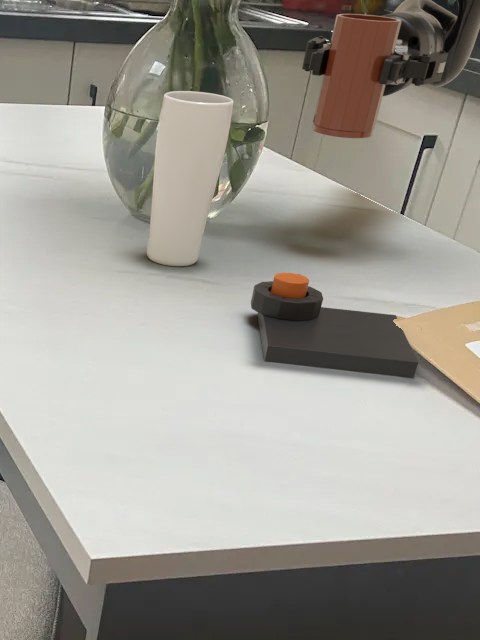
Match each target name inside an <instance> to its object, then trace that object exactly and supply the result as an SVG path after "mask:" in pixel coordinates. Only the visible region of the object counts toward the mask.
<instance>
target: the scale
mask: <svg viewBox="0 0 480 640" xmlns="http://www.w3.org/2000/svg"><path fill="white" fill-rule="evenodd" d="M272 284H273V280H271V281H261V282H258V283H256V284H255V285H254V286H253V291H252V295H251V299H250V308H251V310H253V311H254V312H257V314H256V315H257V322H258V329H259V334H260V335H259V336H260V341H261V348H262V354H263V360H264V362H267V363H278V364H285V365H286V364H287V365H295V366H302V367H312V368H320V369H330V370H337V371H338V370H339V371H348V372H355V373H366V374H374V375H381V376H391V377H392V376H393V377H400V378H401V377H402V378H408V379H414V378H415V375H416V372H417V369H418V365H419V361H418V358H417V356H416V355H415V352H414V351H413V348H412V346H411V344H410V342H409V340H408V338H407V335H406V333H405V331H404V330H402V329H403V328H402V329H401V328H399V327H398V326H396V324H395V323H394V322H393V320H394V319H398V317H397V315H396V314H388V313H381V312H380V313H379V312H372V311H371V312H370V311H360V310H352V309H343V308H334V307H323V306H322V305H323V301H324V296H323V293H322V292H321V291H319V290H318V289H316V288H314V287H313V286H309V285H308V288H307V292H306V296H305V298H287V297H283V296H279V295H275V294H273V293H271V289H272Z"/></svg>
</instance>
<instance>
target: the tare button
mask: <svg viewBox="0 0 480 640" xmlns="http://www.w3.org/2000/svg"><path fill="white" fill-rule="evenodd" d="M272 281H273V284H272V289H271V293H273V294H275V295H279V296H283V297H287V298H305V296H306V292H307V288H308V286H309V285H310V284H309V283H310V279H309V278H308V277H307V276H305V275H302V274H298V273H294V272H293V273H292V272H278V273H275V274H274V276H273V280H272Z"/></svg>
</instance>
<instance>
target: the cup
mask: <svg viewBox="0 0 480 640" xmlns="http://www.w3.org/2000/svg"><path fill="white" fill-rule="evenodd" d="M401 22H402V21H401V20H400V19H395V18H390V17H383V16H382V15H374V14H361V13H340V14H336V16H335V21H334V25H333V30H332V35H331V39H330V42H329V43H330V47H329V52H328V57H327V61H326V66H325V70H324V75H322V79H321V83H320V89H319V93H318V98H317V100H316V101H317V102H316V106H315V111H314V114H313V120H312V126H311V130H312V131H313V132H314V133H317V134H320V135H324V136H329V137H335V138H343V139H367V138H371V137H372V136H373V134H374V130H375V128H376V125H377V121H378V116H379V112H380V109H381V105H382V101H383V97H384V96H383V93H384V89H385V85H384V84H379V82H380V77H381V73H382V69H383V65H384V62H385V59H386V58H387V57H390V56H393V54H394V50H395V46H396V42H397V38H398V34H399V30H400V26H401Z"/></svg>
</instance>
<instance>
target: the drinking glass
mask: <svg viewBox="0 0 480 640" xmlns="http://www.w3.org/2000/svg"><path fill="white" fill-rule="evenodd" d="M234 103H235V102H234V99H233V98H231V97H228V96H226V95H222V94H217V93H211V92H204V91H194V90H193V91H192V90H175V91H168V92H165V93H164V94H163V98H162V103H161V108H160V114H159V119H158V126H157V131H156V133H157V134H156V140H155V141H156V142H155V149H154V150H155V152H154V163H153V178H152V180H153V181H152V192H151V193H152V194H151V207H150V219H149V220H150V221H149V231H148V240H147V245H146V246H147V247H146V255H147V256H146V257H148V259H149V260H150V261H152V262H153V263H156V264H159V265H163V266H169V267H189V266H192V265H194V264H195V263H197V261H198V260H199V257H200V252H201V247H202V242H203V237H204V234H205V230H206V225H207V222H208V218H209V214H210V212H211V211H210V210H211V207H212V203H213V199H214V195H215V191H216V187H217V184H218V180H219V176H220V173H221V169H222V165H223V162H224V158H225V154H226V149H227V145H228V141H229V140H228V139H229V135H230V130H231V124H232V117H233V112H234V111H233V110H234Z"/></svg>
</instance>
